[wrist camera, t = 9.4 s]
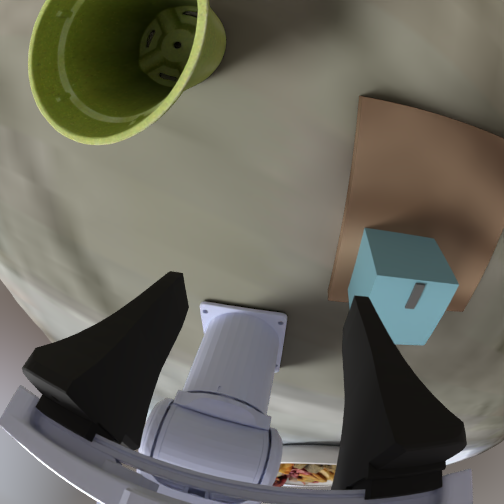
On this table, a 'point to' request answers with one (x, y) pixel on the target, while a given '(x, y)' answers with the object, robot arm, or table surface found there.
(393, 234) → the blue cube with slot
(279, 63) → the table surface
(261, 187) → the table surface
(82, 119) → the plant pot
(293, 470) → the bowl
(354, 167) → the panel
